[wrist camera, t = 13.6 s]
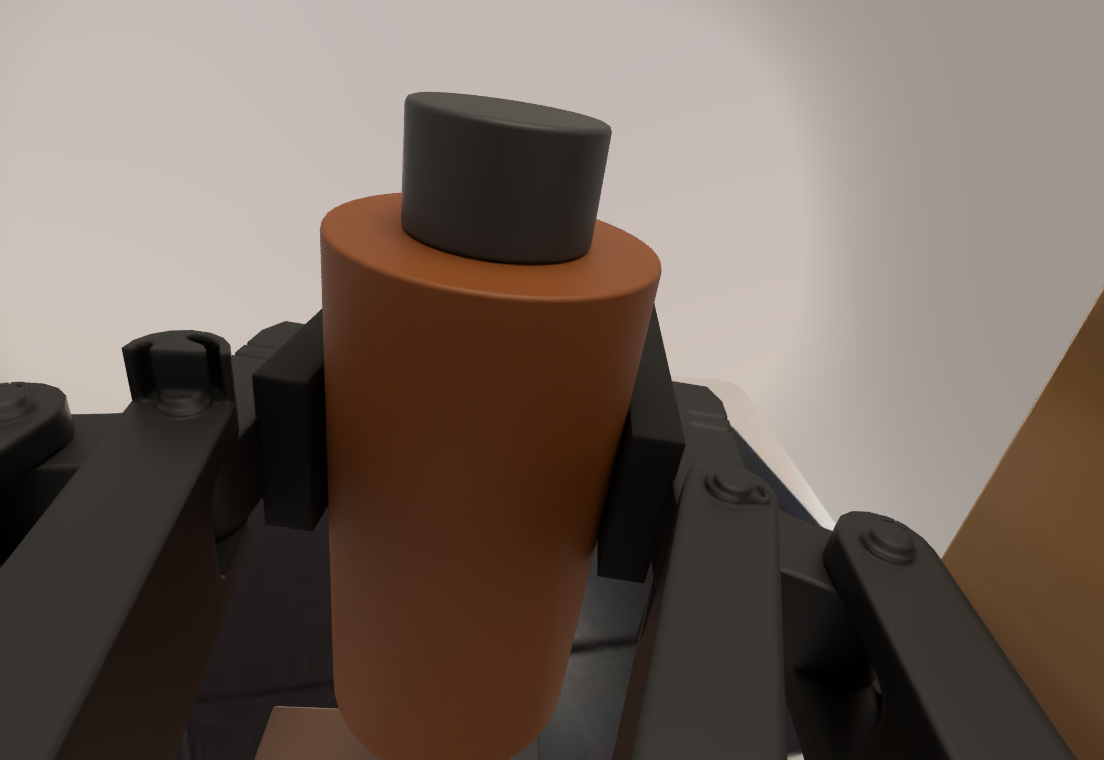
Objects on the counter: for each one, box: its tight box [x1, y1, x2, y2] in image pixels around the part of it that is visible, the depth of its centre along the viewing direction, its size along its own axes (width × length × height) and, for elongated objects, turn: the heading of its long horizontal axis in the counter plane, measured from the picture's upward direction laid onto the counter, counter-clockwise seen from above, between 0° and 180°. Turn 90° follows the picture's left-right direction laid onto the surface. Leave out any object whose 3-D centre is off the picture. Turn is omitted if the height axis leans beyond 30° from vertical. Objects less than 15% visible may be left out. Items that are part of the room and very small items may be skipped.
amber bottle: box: [320, 92, 661, 760], centre depth 10 cm, size 5×5×11 cm
